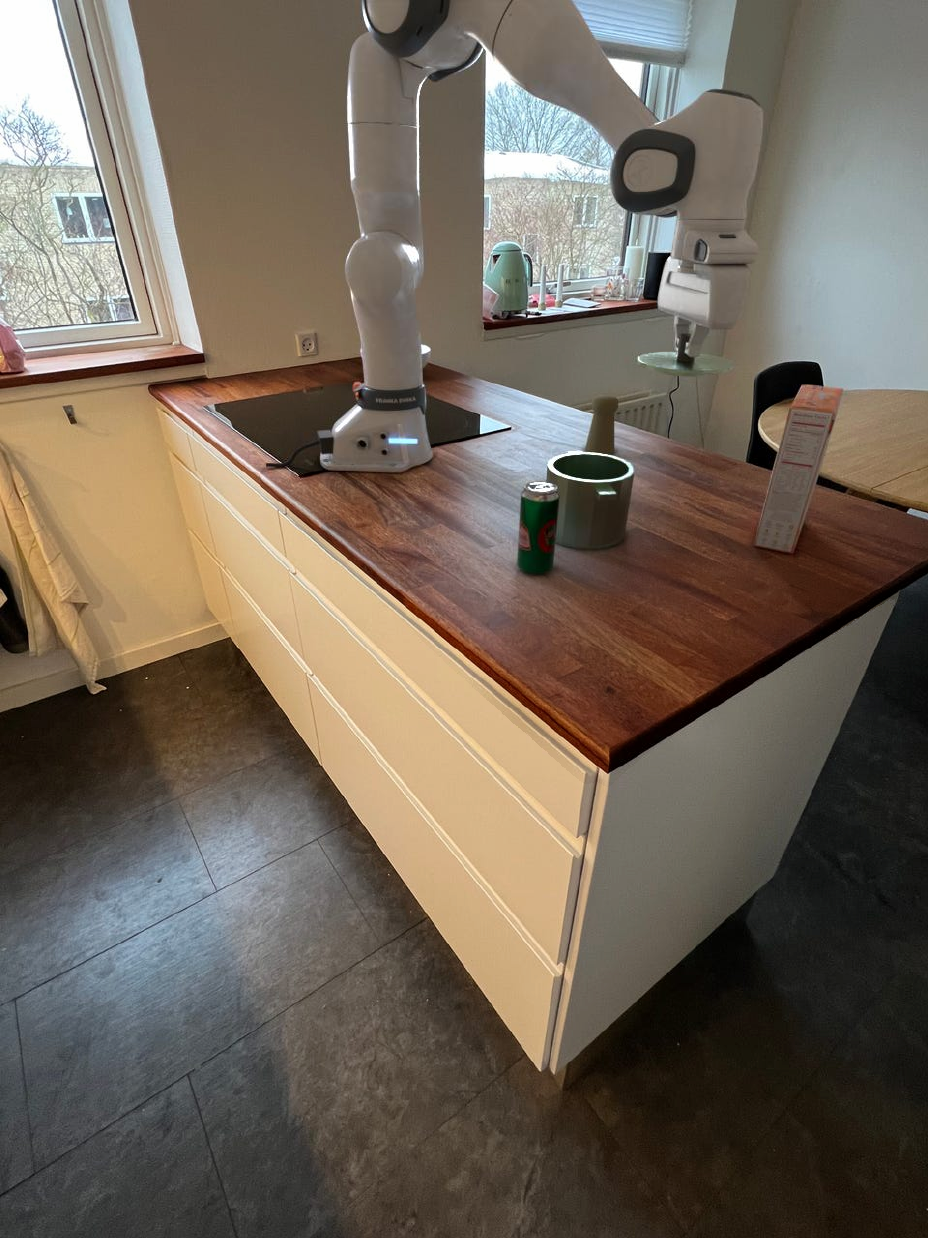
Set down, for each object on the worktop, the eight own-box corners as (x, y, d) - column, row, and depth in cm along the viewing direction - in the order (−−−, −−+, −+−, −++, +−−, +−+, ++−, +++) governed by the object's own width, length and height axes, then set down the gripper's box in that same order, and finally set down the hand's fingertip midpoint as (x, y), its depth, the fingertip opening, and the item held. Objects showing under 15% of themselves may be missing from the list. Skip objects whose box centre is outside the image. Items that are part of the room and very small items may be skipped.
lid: (656, 380, 88) (662, 344, 86) (624, 360, 99) (629, 328, 97) (749, 378, 89) (757, 342, 87) (707, 358, 101) (713, 326, 98)
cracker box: (764, 513, 105) (801, 382, 93) (803, 521, 102) (847, 387, 91) (749, 546, 95) (788, 403, 83) (792, 556, 92) (839, 410, 81)
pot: (557, 560, 91) (563, 491, 85) (532, 509, 106) (536, 448, 100) (641, 555, 92) (654, 487, 86) (605, 506, 107) (613, 445, 101)
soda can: (514, 560, 91) (518, 480, 84) (549, 558, 91) (556, 479, 85) (520, 577, 87) (524, 494, 80) (556, 576, 87) (564, 493, 80)
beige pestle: (614, 455, 129) (621, 400, 123) (584, 453, 130) (590, 398, 124) (614, 446, 134) (621, 392, 128) (585, 444, 135) (591, 391, 129)
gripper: (655, 240, 94) (641, 341, 101) (716, 248, 77) (694, 368, 84) (696, 240, 94) (679, 340, 102) (765, 248, 77) (738, 367, 85)
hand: (686, 353), depth 93 cm, fingers closed on lid, 2 cm apart
